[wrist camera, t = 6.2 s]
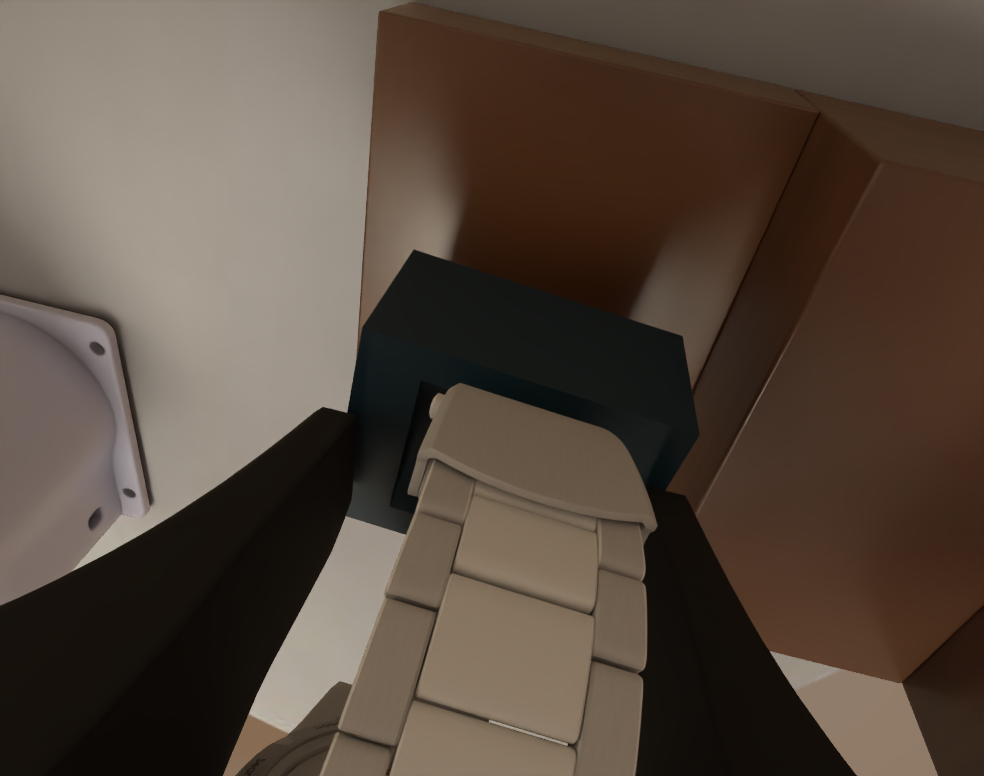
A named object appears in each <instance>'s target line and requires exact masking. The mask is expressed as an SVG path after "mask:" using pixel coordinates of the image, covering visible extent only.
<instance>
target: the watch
mask: <svg viewBox="0 0 984 776" xmlns="http://www.w3.org/2000/svg"><path fill="white" fill-rule="evenodd" d="M347 413H349V414H353V415H358V418H357V433H356V447H355V461H354V476H353V490H352V501H351V503H350V506H349V508H348V511H347V514H346V516H347V517H351V518H354V519H357V520H360V521H364V522H367V523H370V524H373V525H377V526H380V527H383V528H386V529H389V530H393V531H396V532H399V533H402V534H406V537H405V539H404V542H403V544H402V547H401V549H400V552H399V555H398V557H397V560H396V562H395V565H394V568H393V570H392V573H391V575H390V578H389V581H388V583H387V586H386V589H385V592H384V597H385V598H386V599H384V601H383V603H382V606H381V608H380V611H379V614H378V617H377V619H376V622H375V625H374V627H373V630H372V633H371V636H370V638H369V641H368V644H367V647H366V649H365V652H364V655H363V658H362V660H361V663H360V666H359V668H358V671H357V674H356V677H355V679H354V682H353V685H351V684H347V683H344V682H341V681H340V682H338V683H337V684H336V685H334V686H333V687H332V688H331V689H330V690H329V691H328V692H327V693H326V694H325V696H324V697H323V698H322V699H321V700H320V701H319V702H318V704H317V705H316V706H315V707H314V708H313V709H312V710H311V711H310V713H309V714H308V715H307V716H306V717H305V718H304V719H303V720H302V721H301V723H300V724H299V725H298V726H297V727H296V728H295V729H294V730H293V731H291V732H290V733H289V734H288V735H287V736H286V737H284V738H282V739H280V740H278V741H276V742H274V743H272V744H270V745H269V746H267V747H266V748H265V749H263V750H262V751H261V752H259V753H258V754H257V755H256V756H255V757H254V758H252V759H251V760H250V761H249V762H248V763H247V764H246V765H245V766H244V767H243V768H242V769H241V770H240V771H239V773H238V774H237V775H236V776H635V773H636V765H637V756H638V746H639V736H640V726H641V713H642V700H643V679H642V678H641V677H640V676H639V675H638V674H637V673H639V672H641V671H642V670H644V668H645V666H646V660H647V599H646V587H645V585H644V584H643V583H642V580H643V579H644V576H645V571H646V567H645V556H644V549H643V545H644V543H645V541H646V539H647V537H648V535H649V533H651V532H654V531H655V530H656V528H657V526H658V525H657V522H656V518H655V515H654V512H653V508H652V505H651V502H650V499H649V496H648V493H647V491H648V489H649V487H653V488H657V489H661V490H666V489H667V487H668V485H669V484H670V482H671V481H672V479H673V477H674V476H675V474H676V473H677V471H678V469H679V468H680V466H681V464H682V463H683V461H684V460H685V458H686V456H687V455H688V453H689V452H690V450H691V448H692V447H693V445H694V444H695V442H696V440H697V439H698V437H699V435H700V434H699V428H698V422H697V417H696V411H695V405H694V399H693V394H692V388H691V382H690V376H689V370H688V365H687V359H686V353H685V347H684V342H683V336H681V335H678V334H675V333H672V332H669V331H665V330H662V329H659V328H656V327H653V326H650V325H647V324H644V323H641V322H638V321H634V320H631V319H628V318H625V317H622V316H619V315H616V314H613V313H610V312H606V311H603V310H600V309H597V308H594V307H591V306H588V305H585V304H582V303H579V302H575V301H572V300H569V299H566V298H563V297H560V296H557V295H554V294H551V293H548V292H544V291H541V290H538V289H535V288H532V287H529V286H526V285H523V284H520V283H516V282H513V281H510V280H507V279H504V278H501V277H498V276H495V275H492V274H489V273H485V272H482V271H479V270H476V269H473V268H470V267H467V266H464V265H461V264H458V263H454V262H451V261H448V260H445V259H442V258H439V257H436V256H433V255H430V254H426V253H423V252H420V251H417V250H413V251H412V253H411V254H410V256H409V257H408V259H407V260H406V262H405V263H404V265H403V266H402V268H401V269H400V271H399V272H398V274H397V275H396V277H395V278H394V280H393V281H392V283H391V284H390V286H389V288H388V289H387V291H386V292H385V294H384V295H383V297H382V298H381V300H380V301H379V303H378V304H377V306H376V307H375V309H374V310H373V312H372V313H371V315H370V316H369V318H368V319H367V321H366V322H365V324H364V325H363V327H362V330H361V336H360V342H359V348H358V354H357V360H356V365H355V371H354V377H353V383H352V389H351V395H350V401H349V406H348V412H347ZM425 651H426V652H425ZM591 661H592V662H591ZM489 719H490V720H493V721H496V722H500V723H503V724H506V725H509V726H513V727H516V728H519V729H523V730H526V731H529V732H533V733H536V734H539V735H543V736H546V737H549V738H552V739H556V740H559V741H562V742H566V743H568V746H565V745H562V744H559V743H555V742H552V741H549V740H545V739H542V738H539V737H535V736H532V735H529V734H525V733H522V732H519V731H516V730H512V729H509V728H506V727H502V726H499V725H496V724H492V723H489Z"/></svg>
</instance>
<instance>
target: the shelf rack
mask: <svg viewBox="0 0 984 776" xmlns="http://www.w3.org/2000/svg"><path fill="white" fill-rule="evenodd" d="M413 250H417V251H420V252H423V253H426V254H430V255H433V256H436V257H439V258H442V259H445V260H448V261H451V262H454V263H458V264H461V265H464V266H467V267H470V268H473V269H476V270H479V271H482V272H485V273H489V274H492V275H495V276H498V277H501V278H504V279H507V280H510V281H513V282H516V283H520V284H523V285H526V286H529V287H532V288H535V289H538V290H541V291H544V292H548V293H551V294H554V295H557V296H560V297H563V298H566V299H569V300H572V301H575V302H579V303H582V304H585V305H588V306H591V307H594V308H597V309H600V310H603V311H606V312H610V313H613V314H616V315H619V316H622V317H625V318H628V319H631V320H634V321H638V322H641V323H644V324H647V325H650V326H653V327H656V328H659V329H662V330H665V331H669V332H672V333H675V334H678V335H681V336H683V342H684V347H685V353H686V359H687V365H688V370H689V376H690V382H691V388H692V394H693V399H694V405H695V411H696V417H697V422H698V428H699V434H700V435H699V437H698V439H697V440H696V442H695V444H694V445H693V447H692V448H691V450H690V452H689V453H688V455H687V456H686V458H685V460H684V461H683V463H682V464H681V466H680V468H679V469H678V471H677V473H676V474H675V476H674V477H673V479H672V481H671V482H670V484H669V485H668V487H667V489H666V490H665V491H669V492H673V493H677V494H681V495H685V496H686V498H687V499H688V501H689V503H690V505H691V507H692V509H693V511H694V513H695V515H696V517H697V519H698V521H699V523H700V525H701V527H702V529H703V531H704V533H705V535H706V537H707V539H708V541H709V543H710V545H711V547H712V549H713V551H714V553H715V555H716V557H717V559H718V561H719V563H720V565H721V567H722V569H723V570H724V572H725V574H726V576H727V578H728V580H729V582H730V584H731V585H732V587H733V589H734V591H735V593H736V594H737V596H738V598H739V600H740V602H741V603H742V605H743V607H744V609H745V611H746V612H747V614H748V616H749V618H750V620H751V621H752V623H753V625H754V626H755V628H756V630H757V631H758V633H759V635H760V637H761V638H762V640H763V642H764V643H765V645H766V646H767V648H768V650H769V651H772V652H776V653H780V654H784V655H788V656H792V657H796V658H800V659H804V660H808V661H812V662H816V663H820V664H824V665H828V666H832V667H836V668H840V669H844V670H848V671H853V672H856V673H860V674H865V675H869V676H873V677H877V678H880V679H885V680H889V681H893V682H897V683H902V684H903V687H904V689H905V692H906V694H907V697H908V700H909V702H910V705H911V707H912V710H913V712H914V715H915V718H916V720H917V723H918V725H919V728H920V730H921V733H922V736H923V738H924V741H925V743H926V746H927V748H928V751H929V753H930V756H931V759H932V761H933V764H934V766H935V769H936V771H937V774H938V776H984V132H982V131H978V130H973V129H969V128H964V127H960V126H956V125H951V124H947V123H942V122H938V121H934V120H929V119H925V118H920V117H916V116H911V115H907V114H903V113H898V112H894V111H889V110H885V109H881V108H876V107H872V106H867V105H863V104H859V103H854V102H850V101H845V100H841V99H836V98H832V97H828V96H823V95H819V94H814V93H810V92H806V91H801V90H793V89H791V88H789V87H784V86H780V85H775V84H771V83H767V82H762V81H758V80H753V79H749V78H745V77H740V76H736V75H731V74H727V73H722V72H718V71H714V70H709V69H705V68H700V67H696V66H692V65H687V64H683V63H678V62H674V61H669V60H665V59H661V58H656V57H652V56H647V55H643V54H639V53H634V52H630V51H625V50H621V49H617V48H612V47H608V46H603V45H599V44H594V43H590V42H586V41H581V40H577V39H572V38H568V37H564V36H559V35H555V34H550V33H546V32H542V31H537V30H533V29H528V28H524V27H519V26H515V25H511V24H506V23H502V22H497V21H493V20H489V19H484V18H480V17H475V16H471V15H466V14H462V13H458V12H453V11H449V10H444V9H440V8H436V7H431V6H427V5H422V4H418V3H414V2H411V3H408V4H404V5H400V6H397V7H393V8H389V9H386V10H382V11H379V14H378V30H377V46H376V61H375V77H374V93H373V108H372V124H371V140H370V155H369V171H368V187H367V202H366V218H365V234H364V249H363V265H362V281H361V296H360V312H359V328H358V343H357V354H358V348H359V342H360V336H361V330H362V327H363V325H364V324H365V322H366V321H367V319H368V318H369V316H370V315H371V313H372V312H373V310H374V309H375V307H376V306H377V304H378V303H379V301H380V300H381V298H382V297H383V295H384V294H385V292H386V291H387V289H388V288H389V286H390V284H391V283H392V281H393V280H394V278H395V277H396V275H397V274H398V272H399V271H400V269H401V268H402V266H403V265H404V263H405V262H406V260H407V259H408V257H409V256H410V254H411V253H412V251H413ZM356 360H357V359H356Z"/></svg>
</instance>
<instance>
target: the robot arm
mask: <svg viewBox="0 0 984 776" xmlns="http://www.w3.org/2000/svg"><path fill="white" fill-rule="evenodd" d="M99 344H100V345H102V346H103V347H101V346H100V345H99ZM357 418H358V415H353V414H349V413H345V412H341V411H337V410H333V409H329V408H325V407H322V408H321V409H319V410H317V411H316V412H314V413H313V414H312V415H311V416H309V417H308V418H307V419H306V420H304V421H303V422H302V423H301V424H299V425H298V426H297V427H296V428H294V429H293V430H292V431H291V432H289V433H288V434H287V435H286V436H284V437H283V438H282V439H281V440H279V441H278V442H277V443H275V444H274V445H273V446H271V447H270V448H269V449H268V450H266V451H265V452H264V453H262V454H261V455H260V456H258V457H257V458H256V459H254V460H253V461H252V462H250V463H249V464H247V465H246V466H245V467H243V468H242V469H241V470H239V471H238V472H236V473H235V474H234V475H232V476H231V477H230V478H228V479H227V480H225V481H224V482H223V483H221V484H220V485H218V486H217V487H215V488H214V489H212V490H211V491H209V492H208V493H206V494H205V495H203V496H202V497H200V498H199V499H197V500H196V501H194V502H193V503H191V504H189V505H188V506H186V507H185V508H183V509H182V510H180V511H179V512H177V513H176V514H174V515H173V516H171V517H169V518H168V519H166V520H165V521H163V522H161V523H160V524H158V525H156V526H155V527H153V528H151V529H150V530H148V531H146V532H145V533H143V534H141V535H139V536H138V537H136V538H134V539H132V540H131V541H129V542H127V543H125V544H123V545H122V546H120V547H118V548H116V549H115V550H113V551H111V552H109V553H107V554H105V555H104V556H102V557H100V558H98V559H96V560H94V561H92V562H90V563H88V564H86V565H84V566H82V567H80V568H78V569H76V570H74V571H72V570H73V569H74V568H75V567H76V566H77V565H78V563H79V562H80V561H81V560H82V559H83V558H84V557H85V555H86V554H87V553H88V552H89V551H90V550H91V548H92V547H93V546H94V545H95V544H96V543H97V542H98V540H99V539H100V538H101V537H102V536H103V535H104V534H105V532H106V531H107V530H108V529H109V528H110V527H111V525H112V524H113V523H114V522H115V521H116V520H117V519H118V517H119V516H120V515H121V514H123V515H127V516H131V517H136V518H141V517H144V516H145V515H146V514H147V512H148V511H149V510H150V505H149V500H148V495H147V490H146V485H145V480H144V475H143V470H142V465H141V460H140V455H139V450H138V445H137V440H136V435H135V430H134V425H133V420H132V415H131V410H130V405H129V400H128V395H127V390H126V385H125V380H124V375H123V370H122V365H121V360H120V355H119V350H118V345H117V340H116V335H115V332H114V330H113V328H112V327H111V326H110V324H108V323H107V322H106V321H104V320H101V319H99V318H95V317H91V316H87V315H83V314H79V313H75V312H70V311H66V310H62V309H58V308H54V307H50V306H46V305H42V304H37V303H33V302H29V301H25V300H21V299H17V298H13V297H9V296H4V295H0V776H223V774H224V771H225V769H226V767H227V764H228V762H229V759H230V757H231V754H232V752H233V750H234V747H235V745H236V742H237V740H238V738H239V735H240V733H241V731H242V728H243V726H244V723H245V721H246V719H247V716H248V714H249V712H250V709H251V707H252V705H253V702H254V700H255V697H256V695H257V693H258V691H259V689H260V687H261V685H262V683H263V681H264V679H265V676H266V674H267V672H268V670H269V668H270V666H271V664H272V663H273V661H274V659H275V657H276V655H277V653H278V651H279V649H280V648H281V646H282V644H283V642H284V640H285V638H286V636H287V635H288V633H289V631H290V629H291V627H292V625H293V623H294V621H295V620H296V618H297V616H298V614H299V612H300V610H301V608H302V607H303V605H304V603H305V601H306V599H307V597H308V595H309V593H310V592H311V590H312V588H313V586H314V584H315V582H316V580H317V578H318V577H319V575H320V573H321V571H322V569H323V567H324V565H325V563H326V561H327V559H328V557H329V556H330V554H331V552H332V549H333V547H334V544H335V542H336V539H337V537H338V534H339V532H340V529H341V527H342V524H343V522H344V519H345V516H346V514H347V511H348V508H349V506H350V503H351V501H352V490H353V476H354V461H355V447H356V433H357ZM647 493H648V496H649V499H650V502H651V505H652V508H653V512H654V515H655V518H656V522H657V525H658V526H657V528H656V530H655V531H654V532H651V533H649V535H648V537H647V539H646V541H645V543H644V545H643V549H644V556H645V567H646V571H645V576H644V579H643V580H642V583H643V584H644V585H645V587H646V599H647V660H646V666H645V668H644V670H642V671H641V672H639V673H637V674H638V675H639V676H640V677H641V678H642V679H643V700H642V713H641V726H640V736H639V746H638V756H637V765H636V773H635V776H857V775H856V774H855V773H854V772H853V771H852V769H851V768H850V766H849V765H848V764H847V763H846V761H845V760H844V759H843V757H842V756H841V755H840V753H839V752H838V751H837V749H836V748H835V747H834V745H833V744H832V743H831V741H830V740H829V738H828V737H827V736H826V734H825V733H824V732H823V730H822V729H821V728H820V726H819V725H818V723H817V722H816V720H815V719H814V718H813V716H812V715H811V714H810V712H809V711H808V709H807V708H806V707H805V705H804V704H803V702H802V701H801V699H800V698H799V696H798V695H797V694H796V692H795V691H794V689H793V688H792V686H791V685H790V683H789V681H788V680H787V678H786V677H785V675H784V674H783V672H782V671H781V669H780V667H779V666H778V664H777V663H776V661H775V659H774V658H773V656H772V655H771V653H770V651H769V650H768V648H767V646H766V645H765V643H764V642H763V640H762V638H761V637H760V635H759V633H758V631H757V630H756V628H755V626H754V625H753V623H752V621H751V620H750V618H749V616H748V614H747V612H746V611H745V609H744V607H743V605H742V603H741V602H740V600H739V598H738V596H737V594H736V593H735V591H734V589H733V587H732V585H731V584H730V582H729V580H728V578H727V576H726V574H725V572H724V570H723V569H722V567H721V565H720V563H719V561H718V559H717V557H716V555H715V553H714V551H713V549H712V547H711V545H710V543H709V541H708V539H707V537H706V535H705V533H704V531H703V529H702V527H701V525H700V523H699V521H698V519H697V517H696V515H695V513H694V511H693V509H692V507H691V505H690V503H689V501H688V499H687V498H686V496H685V495H681V494H677V493H673V492H669V491H665V490H661V489H657V488H653V487H649V489H648V491H647ZM71 571H72V572H71Z"/></svg>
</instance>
